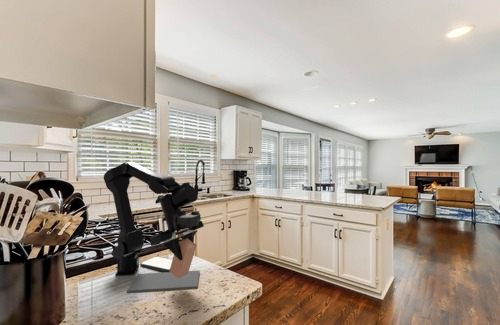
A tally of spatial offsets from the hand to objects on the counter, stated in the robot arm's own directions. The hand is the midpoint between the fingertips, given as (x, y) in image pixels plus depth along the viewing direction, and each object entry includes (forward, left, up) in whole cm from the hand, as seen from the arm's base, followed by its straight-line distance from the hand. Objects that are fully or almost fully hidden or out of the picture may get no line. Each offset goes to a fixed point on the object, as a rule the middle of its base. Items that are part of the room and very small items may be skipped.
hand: (186, 257), depth 81 cm
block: (-3, +2, -6) cm, 7 cm away
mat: (-8, +7, -10) cm, 15 cm away
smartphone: (-12, +21, -11) cm, 26 cm away
